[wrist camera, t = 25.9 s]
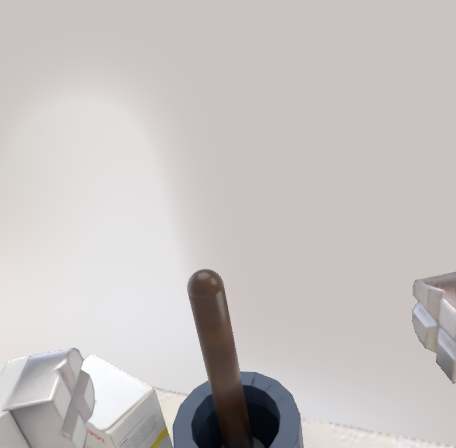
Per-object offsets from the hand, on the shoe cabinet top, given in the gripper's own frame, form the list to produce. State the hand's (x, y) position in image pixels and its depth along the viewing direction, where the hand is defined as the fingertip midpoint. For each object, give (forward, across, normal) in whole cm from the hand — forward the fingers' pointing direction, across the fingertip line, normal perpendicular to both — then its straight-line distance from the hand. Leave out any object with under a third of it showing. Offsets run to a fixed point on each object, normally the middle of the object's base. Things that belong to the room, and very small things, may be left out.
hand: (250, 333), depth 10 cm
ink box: (+17, +12, +29) cm, 36 cm away
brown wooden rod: (+13, +2, +28) cm, 31 cm away
